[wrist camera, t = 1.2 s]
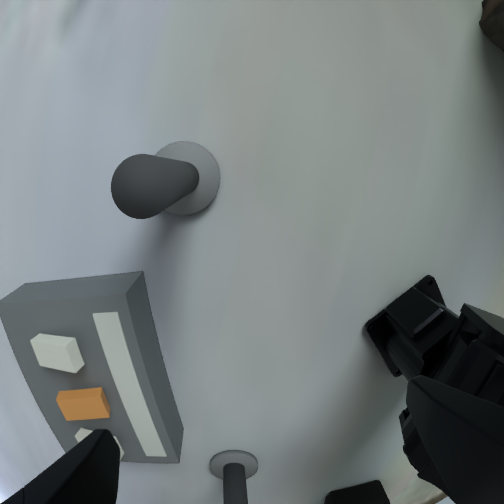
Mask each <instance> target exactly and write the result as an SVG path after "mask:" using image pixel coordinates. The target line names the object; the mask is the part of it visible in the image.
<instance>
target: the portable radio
mask: <svg viewBox="0 0 504 504" xmlns="http://www.w3.org/2000/svg"><path fill="white" fill-rule="evenodd" d="M324 504H390V501H389V499H388V497H387V495H386V493H385V491H384V488H383V486H382V484H381V482H380V481H379V480H375V481H372V482H368V483H365V484H361V485H357V486H354V487H350V488H345V489H341V490H337V491H332V492H331V493H330V494H329V495H328V496H327V497H326V499H325V503H324Z"/></svg>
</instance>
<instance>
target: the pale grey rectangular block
mask: <svg viewBox="0 0 504 504" xmlns="http://www.w3.org/2000/svg"><path fill="white" fill-rule="evenodd" d="M30 342H31V345H32V347H33V350H34V352H35V355H36V357H37V360H38V362H39V365H40V366H43V367H48V368H52V369H57V370H62V371H67V372H72V373H76V372H77V371H78V370H79V369H80V368H81V367H82V366H83V365H84V362H83V359H82V356H81V353H80V350H79V348H78V345H77V342H76V339H75V338H72V337H63V336H55V335H48V334H40V333H39V334H38V335H37V336H35V337H34V338H33V339H31V340H30Z"/></svg>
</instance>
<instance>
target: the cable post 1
mask: <svg viewBox="0 0 504 504" xmlns="http://www.w3.org/2000/svg"><path fill="white" fill-rule="evenodd" d="M219 184H220V170H219V167H218V164H217V162H216V160H215V158H214V156H213V155H212V154H211V153H210V152H209V151H208V150H207V149H206V148H204V147H203V146H201V145H199V144H196V143H193V142H188V141H180V142H175V143H172V144H169V145H167V146H165V147H164V148H162V149H161V150H160V151H158V152H157V153H156V155H155V156H153V155H147V154H138V155H134V156H131V157H129V158H127V159H125V160H124V161H123V162H122V163H121V164H120V165H119V166H118V167H117V169H116V170H115V172H114V175H113V178H112V182H111V193H112V197H113V200H114V202H115V204H116V205H117V207H118V208H119V209H120V210H121V211H122V212H123V213H124V214H126V215H127V216H129V217H132V218H136V219H146V218H150V217H153V216H155V215H157V214H159V213H160V212H162V211H163V210H164V211H166V212H168V213H171V214H175V215H190V214H194V213H197V212H199V211H201V210H202V209H204V208H205V207H206V206H208V205H209V204H210V202H211V201H212V200H213V199H214V197H215V195H216V193H217V191H218V188H219Z"/></svg>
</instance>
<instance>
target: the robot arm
mask: <svg viewBox="0 0 504 504" xmlns="http://www.w3.org/2000/svg"><path fill="white" fill-rule="evenodd" d="M429 280H430V283H429V284H428V281H429ZM460 311H461V314H460V316H458V315H456V314H455V313H454V312H452V311H451V310H449V309H448V308H447V307H446V305H445V303H444V300H443V298H442V295H441V293H440V290H439V288H438V285H437V283H436V280H435V278H434V277H432V276H431V275H427V276H425V277H424V278H423V279H421V280H420V281H419V282H418V283H417V284H415V285H414V286H413V287H411V288H410V289H409V290H407V291H406V292H405V293H404V294H402V295H401V296H400V297H399V298H397V299H396V300H395V301H393V302H392V303H391V304H390V305H388V306H387V307H386V308H385V309H384V310H382V311H381V312H380V313H378V314H377V315H376V316H374V317H373V318H372V319H370V320H369V321H368V322H367V323H366V325H365V329H366V331H367V333H368V334H369V336H370V338H371V339H372V341H373V343H374V344H375V346H376V348H377V349H378V351H379V353H380V354H381V356H382V358H383V359H384V361H385V363H386V364H387V366H388V368H389V369H390V371H391V373H392V374H393V376H395V377H398V376H400V375H402V374H403V375H404V376H405V377H406V378H407V380H408V387H407V395H406V404H407V408H406V409H405V410H403V411H402V413H401V414H400V416H399V419H400V424H401V429H402V434H403V439H404V445H403V451H404V453H405V454H406V456H407V458H408V460H409V462H410V464H411V465H412V466H413V467H414V468H415V469H416V470H417V471H418V472H419V473H418V474H417V475H418V477H419V478H421V479H423V480H425V481H427V482H429V483H432V484H433V485H435V486H436V487H438V488H439V489H440V490H442V491H443V492H444V493H445V494H446V495H447V496H449V497H450V499H451V500H452V501H454V503H456V504H504V319H503V318H502V317H500V316H497V315H494V314H492V313H489V312H487V311H484V310H481V309H479V308H476V307H474V306H471V305H468V304H466V303H464V304H463V306H462V308H461V310H460ZM372 325H374V327H373V328H371V329H370V327H371V326H372ZM397 370H398V371H397ZM396 371H397V372H396ZM119 465H120V447H119V445H118V444H117V442H116V440H115V439H114V437H113V435H112V434H111V432H110V431H109V430H108V429H95V430H94V431H92V432H91V433H90V434H89V435H88V436H86V437H85V438H84V439H83V440H81V441H80V442H79V443H78V444H77V445H75V446H74V447H73V448H72V449H70V450H69V451H68V452H67V453H66V454H64V455H63V456H62V457H61V458H59V459H58V460H57V461H56V462H54V463H53V464H52V465H51V466H49V467H48V468H47V469H46V470H44V471H43V472H42V473H41V474H39V475H38V476H37V477H36V478H34V479H33V480H32V481H30V482H29V483H28V484H27V485H25V486H24V488H21V489H20V490H19V491H18V492H16V493H15V494H14V495H12V496H11V497H9V498H8V499H7V500H5V501H4V502H2V503H1V504H116V499H117V492H118V480H119Z"/></svg>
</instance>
